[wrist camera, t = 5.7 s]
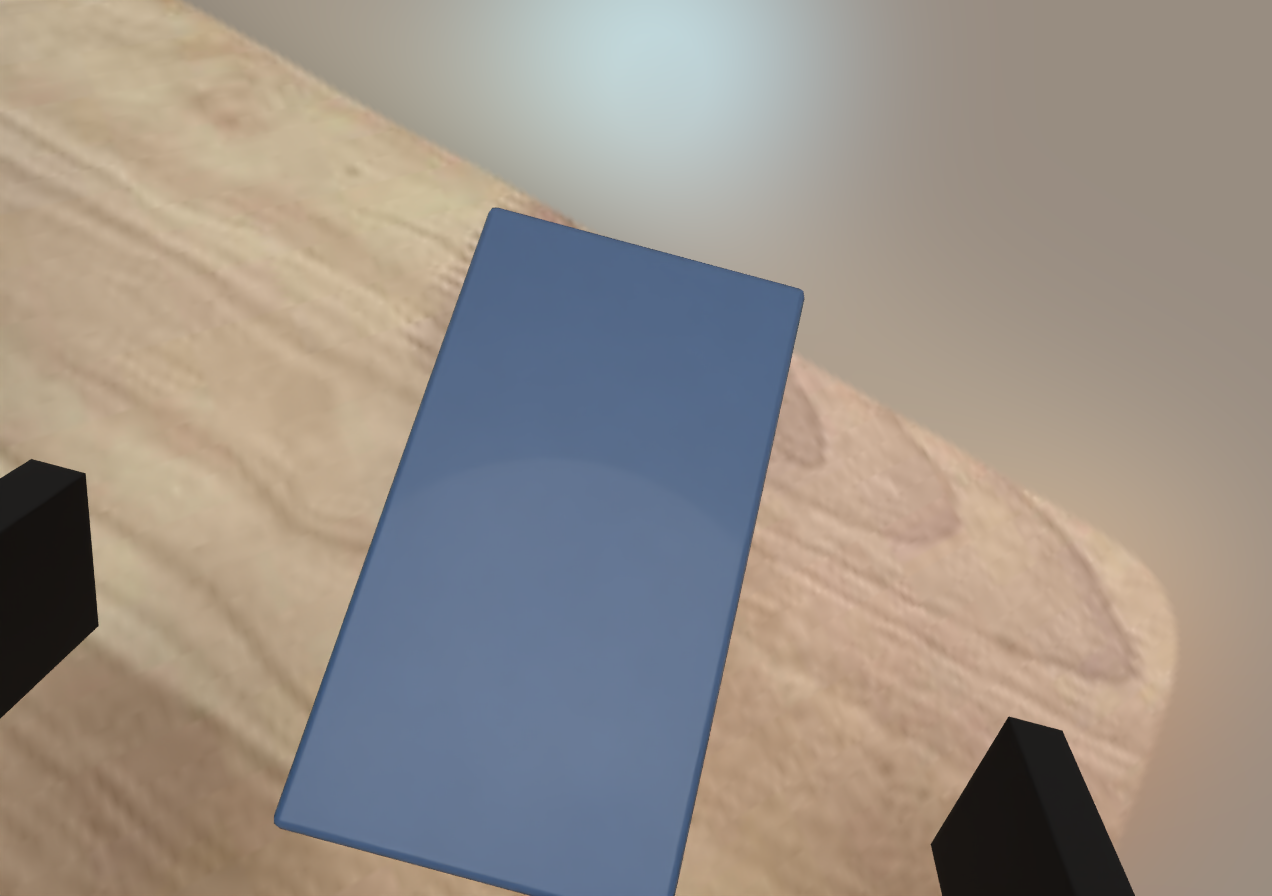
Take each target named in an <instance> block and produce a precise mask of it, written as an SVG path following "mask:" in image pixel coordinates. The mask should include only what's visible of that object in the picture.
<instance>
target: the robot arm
mask: <svg viewBox="0 0 1272 896" xmlns="http://www.w3.org/2000/svg"><path fill="white" fill-rule="evenodd" d="M98 626H99V625H98V614H97V602H96V590H95V578H94V567H93V555H92V543H91V532H90V520H89V508H88V496H87V485H86V473H82V472H79V471H75V470H71V469H67V468H63V467H60V466H56V465H52V464H48V463H44V462H41V461H37V460H33V459H31V460H29V461H27V462H26V463H24V464H23V465H21V466H19V467H18V468H16V469H15V470H13V471H11V472H10V473H8V474H7V475H5V476H3V477H2V478H0V718H1V717H2V716H4V715H5V714H6V713H7V712H8V711H9V710H10V709H11V708H12V707H13V706H14V705H15V704H16V703H17V702H18V701H19V700H20V699H22V698H23V697H24V696H25V695H26V694H27V693H28V692H29V691H30V690H31V689H32V688H33V687H34V686H35V685H36V684H37V683H38V682H40V681H41V680H42V679H43V678H44V677H45V676H46V675H47V674H48V673H49V672H50V671H51V670H52V669H53V668H54V667H55V666H56V665H58V664H59V663H60V662H61V661H62V660H63V659H64V658H65V657H66V656H67V655H68V654H69V653H70V652H71V651H72V650H73V649H75V648H76V647H77V646H78V645H79V644H80V643H81V642H82V641H83V640H84V639H85V638H86V637H87V636H88V635H89V634H90V633H91V632H93V631H94V630H95V629H96V628H97V627H98ZM931 847H932V852H933V856H934V861H935V865H936V870H937V874H938V879H939V883H940V888H941V892H942V896H1135V894H1134V892H1133V890H1132V888H1131V886H1130V883H1129V881H1128V878H1127V876H1126V874H1125V872H1124V869H1123V867H1122V865H1121V863H1120V860H1119V858H1118V856H1117V854H1116V851H1115V849H1114V847H1113V845H1112V842H1111V840H1110V838H1109V835H1108V833H1107V831H1106V829H1105V826H1104V824H1103V822H1102V820H1101V817H1100V815H1099V813H1098V811H1097V808H1096V806H1095V804H1094V801H1093V799H1092V797H1091V795H1090V792H1089V790H1088V788H1087V786H1086V783H1085V781H1084V779H1083V777H1082V774H1081V772H1080V770H1079V768H1078V765H1077V763H1076V761H1075V758H1074V756H1073V754H1072V752H1071V749H1070V747H1069V745H1068V743H1067V740H1066V738H1065V736H1064V734H1063V731H1062V730H1058V729H1054V728H1050V727H1046V726H1043V725H1039V724H1035V723H1031V722H1027V721H1024V720H1020V719H1016V718H1012V717H1008V719H1007V720H1006V722H1005V723H1004V725H1003V727H1002V728H1001V730H1000V732H999V733H998V735H997V737H996V738H995V740H994V741H993V743H992V745H991V746H990V748H989V750H988V751H987V753H986V755H985V756H984V758H983V759H982V761H981V763H980V764H979V766H978V768H977V769H976V771H975V773H974V774H973V776H972V778H971V779H970V781H969V782H968V784H967V786H966V787H965V789H964V791H963V792H962V794H961V796H960V797H959V799H958V800H957V802H956V804H955V805H954V807H953V809H952V810H951V812H950V814H949V815H948V817H947V818H946V820H945V822H944V823H943V825H942V827H941V828H940V830H939V832H938V833H937V835H936V837H935V838H934V840H933V841H932V843H931Z"/></svg>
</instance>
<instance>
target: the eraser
mask: <svg viewBox="0 0 1272 896" xmlns="http://www.w3.org/2000/svg"><path fill="white" fill-rule="evenodd" d="M803 302H804V293H803V291H802V290H801V289H799V288H795V287H791V286H787V285H784V284H780V283H776V282H773V281H769V280H765V279H761V278H757V277H754V276H750V275H747V274H743V273H739V272H735V271H732V270H728V269H724V268H720V267H717V266H713V265H709V264H705V263H702V262H698V261H694V260H691V259H687V258H683V257H680V256H676V255H672V254H668V253H664V252H661V251H657V250H653V249H650V248H646V247H642V246H639V245H635V244H631V243H627V242H624V241H620V240H616V239H612V238H609V237H605V236H601V235H598V234H594V233H590V232H586V231H583V230H579V229H575V228H572V227H568V226H564V225H560V224H557V223H553V222H549V221H545V220H542V219H538V218H534V217H531V216H527V215H523V214H519V213H516V212H512V211H508V210H504V209H501V208H492V209H491V210H490V212H489V213H488V216H487V219H486V221H485V224H484V227H483V230H482V233H481V235H480V238H479V241H478V244H477V247H476V249H475V252H474V255H473V258H472V261H471V264H470V266H469V269H468V272H467V275H466V278H465V280H464V283H463V286H462V289H461V292H460V294H459V297H458V300H457V303H456V306H455V308H454V311H453V314H452V317H451V320H450V323H449V325H448V328H447V331H446V334H445V337H444V339H443V342H442V345H441V348H440V351H439V353H438V356H437V359H436V362H435V365H434V367H433V370H432V373H431V376H430V379H429V382H428V384H427V387H426V390H425V393H424V396H423V398H422V401H421V404H420V407H419V410H418V412H417V415H416V418H415V421H414V424H413V426H412V429H411V432H410V435H409V438H408V441H407V443H406V446H405V449H404V452H403V455H402V457H401V460H400V463H399V466H398V469H397V471H396V474H395V477H394V480H393V483H392V485H391V488H390V491H389V494H388V497H387V500H386V502H385V505H384V508H383V511H382V514H381V516H380V519H379V522H378V525H377V528H376V530H375V533H374V536H373V539H372V542H371V544H370V547H369V550H368V553H367V556H366V559H365V561H364V564H363V567H362V570H361V573H360V575H359V578H358V581H357V584H356V587H355V589H354V592H353V595H352V598H351V601H350V603H349V606H348V609H347V612H346V615H345V618H344V620H343V623H342V626H341V629H340V632H339V634H338V637H337V640H336V643H335V646H334V648H333V651H332V654H331V657H330V660H329V662H328V665H327V668H326V671H325V674H324V677H323V679H322V682H321V685H320V688H319V691H318V693H317V696H316V699H315V702H314V705H313V707H312V710H311V713H310V716H309V719H308V721H307V724H306V727H305V730H304V733H303V735H302V738H301V741H300V744H299V747H298V750H297V752H296V755H295V758H294V761H293V764H292V766H291V769H290V772H289V775H288V778H287V780H286V783H285V786H284V789H283V792H282V794H281V797H280V800H279V803H278V806H277V809H276V811H275V814H274V824H275V825H277V826H278V827H279V828H280V829H284V830H288V831H291V832H295V833H299V834H303V835H306V836H310V837H314V838H317V839H321V840H325V841H329V842H332V843H336V844H340V845H344V846H347V847H351V848H355V849H358V850H362V851H366V852H370V853H373V854H377V855H381V856H384V857H388V858H392V859H396V860H399V861H403V862H407V863H411V864H414V865H418V866H422V867H425V868H429V869H433V870H437V871H440V872H444V873H448V874H452V875H455V876H459V877H463V878H466V879H470V880H474V881H478V882H481V883H485V884H489V885H493V886H496V887H500V888H504V889H507V890H511V891H515V892H519V893H522V894H526V895H530V896H675V892H676V888H677V883H678V878H679V874H680V869H681V865H682V860H683V855H684V851H685V846H686V842H687V837H688V832H689V828H690V823H691V819H692V814H693V809H694V805H695V800H696V796H697V791H698V786H699V782H700V777H701V772H702V768H703V763H704V759H705V754H706V749H707V745H708V740H709V736H710V731H711V726H712V722H713V717H714V713H715V708H716V703H717V699H718V694H719V690H720V685H721V680H722V676H723V671H724V666H725V662H726V657H727V653H728V648H729V643H730V639H731V634H732V630H733V625H734V620H735V616H736V611H737V607H738V602H739V597H740V593H741V588H742V584H743V579H744V574H745V570H746V565H747V561H748V556H749V551H750V547H751V542H752V537H753V533H754V528H755V524H756V519H757V514H758V510H759V505H760V501H761V496H762V491H763V487H764V482H765V478H766V473H767V468H768V464H769V459H770V455H771V450H772V445H773V441H774V436H775V431H776V427H777V422H778V418H779V413H780V408H781V404H782V399H783V395H784V390H785V385H786V381H787V376H788V372H789V367H790V362H791V358H792V353H793V349H794V343H795V339H796V334H797V329H798V325H799V321H800V316H801V312H802V307H803Z"/></svg>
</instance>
